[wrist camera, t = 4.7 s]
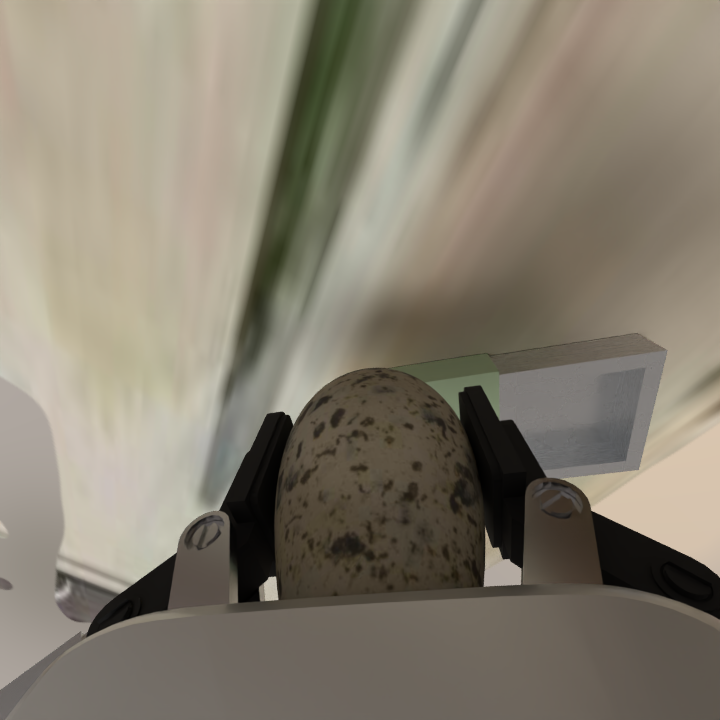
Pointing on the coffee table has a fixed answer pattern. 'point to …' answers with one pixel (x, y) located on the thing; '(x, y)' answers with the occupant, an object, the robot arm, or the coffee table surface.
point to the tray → (583, 402)
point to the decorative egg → (377, 493)
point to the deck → (459, 377)
